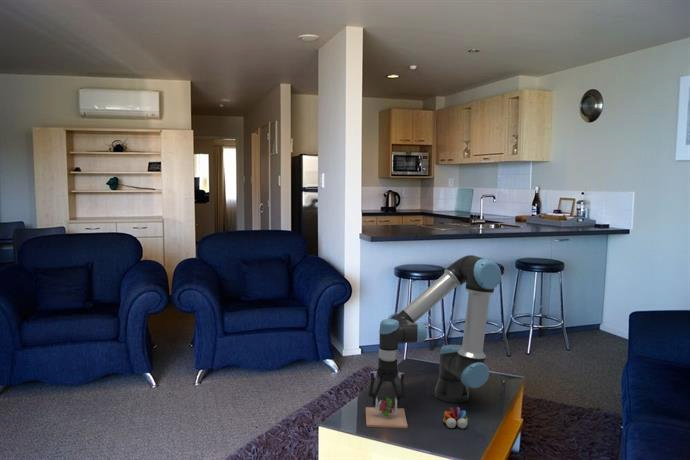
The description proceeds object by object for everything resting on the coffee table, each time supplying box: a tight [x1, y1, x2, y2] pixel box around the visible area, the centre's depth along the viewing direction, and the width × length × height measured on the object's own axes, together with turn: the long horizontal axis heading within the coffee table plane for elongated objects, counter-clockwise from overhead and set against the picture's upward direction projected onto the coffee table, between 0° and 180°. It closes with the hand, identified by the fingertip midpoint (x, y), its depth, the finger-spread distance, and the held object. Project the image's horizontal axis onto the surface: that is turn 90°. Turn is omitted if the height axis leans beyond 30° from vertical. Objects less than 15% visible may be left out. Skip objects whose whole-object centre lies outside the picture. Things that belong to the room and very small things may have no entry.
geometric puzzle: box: [377, 396, 395, 417], centre depth 215 cm, size 7×7×8 cm
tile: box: [365, 406, 409, 429], centre depth 215 cm, size 16×16×1 cm
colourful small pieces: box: [442, 406, 469, 429], centre depth 211 cm, size 8×10×7 cm
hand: (385, 413), depth 215 cm, fingers closed on geometric puzzle, 7 cm apart
